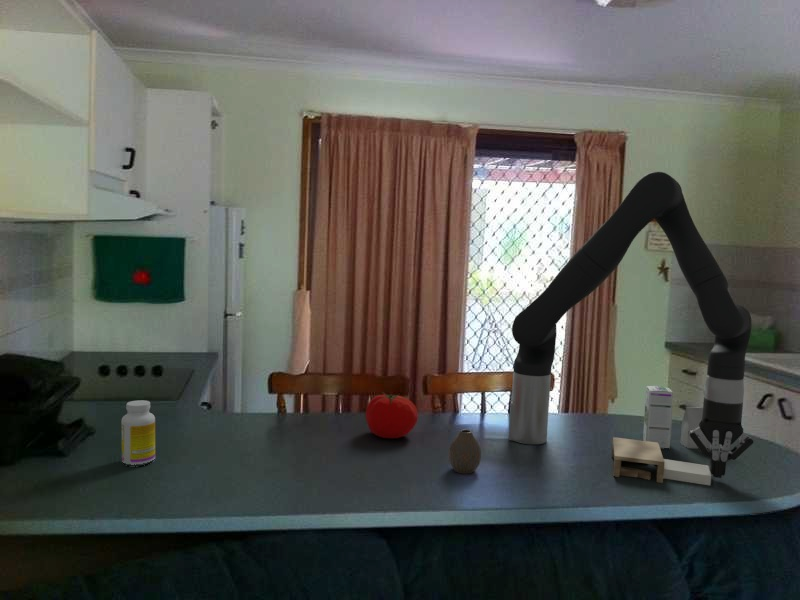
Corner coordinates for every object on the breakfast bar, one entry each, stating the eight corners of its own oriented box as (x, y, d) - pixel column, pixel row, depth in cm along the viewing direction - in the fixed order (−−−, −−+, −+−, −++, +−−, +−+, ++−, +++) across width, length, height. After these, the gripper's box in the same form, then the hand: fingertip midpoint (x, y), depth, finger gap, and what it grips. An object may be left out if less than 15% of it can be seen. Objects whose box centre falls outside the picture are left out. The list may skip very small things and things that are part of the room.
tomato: (354, 434, 162) (355, 393, 161) (387, 425, 171) (388, 385, 170) (394, 447, 153) (396, 403, 152) (426, 436, 162) (428, 395, 161)
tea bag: (713, 449, 161) (716, 409, 160) (686, 448, 161) (690, 409, 160) (706, 444, 165) (709, 406, 164) (680, 443, 165) (683, 405, 164)
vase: (459, 478, 135) (461, 437, 134) (442, 467, 141) (444, 428, 140) (486, 473, 138) (488, 433, 137) (468, 463, 144) (470, 425, 143)
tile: (659, 479, 140) (660, 468, 140) (658, 469, 146) (659, 458, 146) (710, 487, 136) (711, 476, 136) (707, 476, 143) (708, 465, 143)
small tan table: (613, 476, 139) (614, 455, 139) (611, 456, 153) (612, 437, 152) (662, 483, 137) (664, 462, 136) (656, 461, 150) (658, 442, 150)
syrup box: (670, 449, 160) (675, 391, 158) (645, 446, 161) (649, 389, 159) (665, 442, 165) (670, 386, 164) (641, 440, 166) (645, 384, 165)
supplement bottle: (162, 460, 139) (162, 401, 137) (137, 469, 133) (137, 408, 131) (139, 454, 141) (139, 397, 140) (114, 463, 135) (114, 404, 134)
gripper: (692, 398, 136) (686, 478, 137) (762, 405, 132) (755, 487, 134) (687, 390, 143) (681, 466, 144) (753, 396, 139) (747, 474, 141)
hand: (717, 476), depth 139 cm, fingers closed
